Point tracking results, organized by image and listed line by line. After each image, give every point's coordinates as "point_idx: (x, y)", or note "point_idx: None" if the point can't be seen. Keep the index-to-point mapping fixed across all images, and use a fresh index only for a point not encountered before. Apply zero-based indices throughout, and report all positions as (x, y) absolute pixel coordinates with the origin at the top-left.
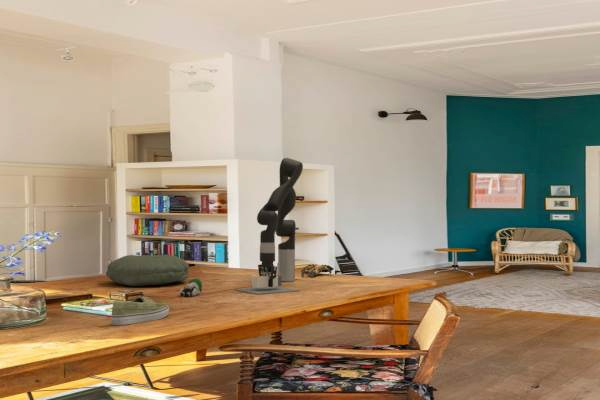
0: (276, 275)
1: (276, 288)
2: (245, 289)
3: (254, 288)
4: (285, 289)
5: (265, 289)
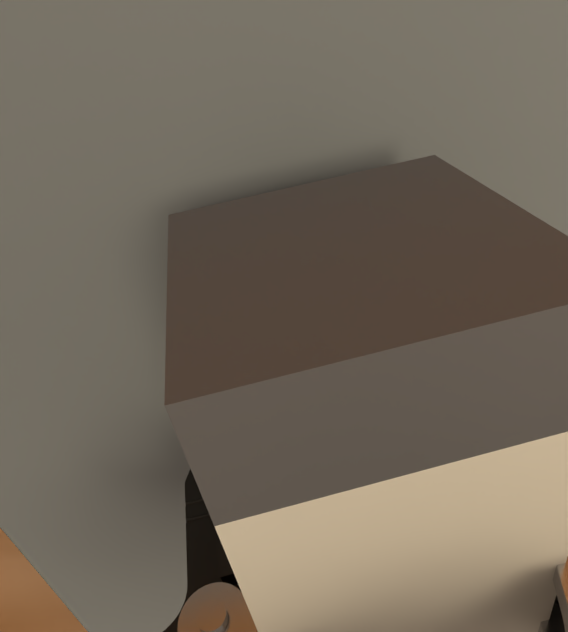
0: (410, 424)
1: (230, 186)
2: (176, 598)
3: (96, 513)
4: (493, 52)
5: None
